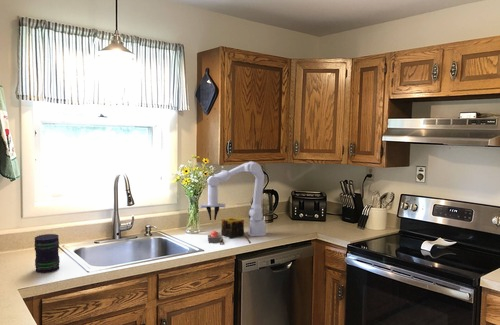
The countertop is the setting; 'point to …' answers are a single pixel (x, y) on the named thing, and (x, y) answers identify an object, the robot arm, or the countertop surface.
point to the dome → (214, 234)
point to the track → (223, 242)
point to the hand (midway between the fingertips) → (212, 219)
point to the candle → (232, 227)
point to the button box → (214, 239)
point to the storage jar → (47, 253)
